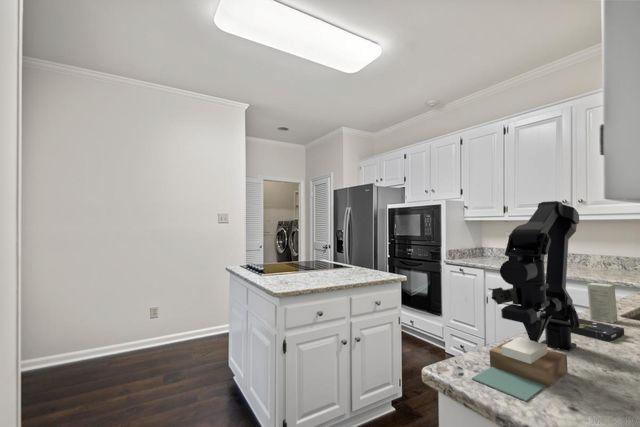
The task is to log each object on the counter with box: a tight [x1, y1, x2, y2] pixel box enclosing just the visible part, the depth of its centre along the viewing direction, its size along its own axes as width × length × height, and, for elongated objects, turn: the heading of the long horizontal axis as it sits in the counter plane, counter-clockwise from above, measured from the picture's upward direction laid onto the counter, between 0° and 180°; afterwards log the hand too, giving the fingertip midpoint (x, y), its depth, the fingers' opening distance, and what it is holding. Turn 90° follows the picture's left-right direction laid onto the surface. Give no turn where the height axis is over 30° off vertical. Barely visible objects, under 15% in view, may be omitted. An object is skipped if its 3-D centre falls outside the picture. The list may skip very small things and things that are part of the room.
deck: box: [488, 339, 569, 389], centre depth 73 cm, size 11×12×4 cm
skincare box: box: [587, 282, 619, 324], centre depth 106 cm, size 6×4×12 cm
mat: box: [471, 366, 546, 403], centre depth 68 cm, size 9×11×1 cm
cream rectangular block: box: [501, 336, 548, 364], centre depth 73 cm, size 9×6×2 cm, turn 124°
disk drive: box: [569, 318, 625, 343], centre depth 96 cm, size 10×3×15 cm
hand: (534, 343), depth 76 cm, fingers closed
